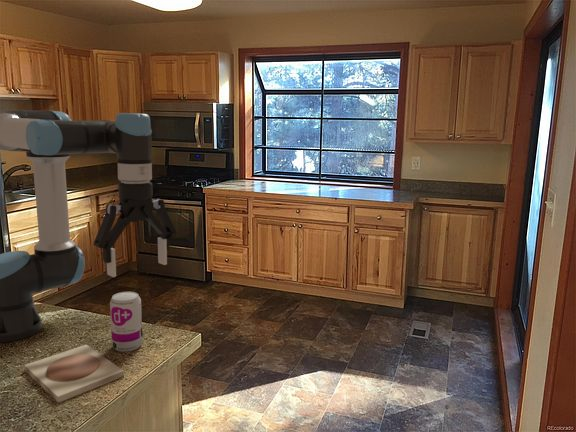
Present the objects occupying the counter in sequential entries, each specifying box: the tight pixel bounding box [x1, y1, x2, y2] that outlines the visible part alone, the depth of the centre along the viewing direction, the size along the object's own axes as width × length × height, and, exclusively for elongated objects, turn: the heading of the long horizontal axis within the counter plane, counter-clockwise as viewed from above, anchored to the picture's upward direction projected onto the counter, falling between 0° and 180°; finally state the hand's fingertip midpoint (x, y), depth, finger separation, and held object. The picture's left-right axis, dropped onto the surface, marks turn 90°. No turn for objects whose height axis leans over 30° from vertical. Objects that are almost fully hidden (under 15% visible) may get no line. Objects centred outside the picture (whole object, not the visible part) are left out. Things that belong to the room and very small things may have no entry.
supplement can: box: [109, 291, 143, 353], centre depth 134 cm, size 8×8×15 cm
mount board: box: [24, 344, 125, 404], centre depth 120 cm, size 20×16×2 cm
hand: (138, 269), depth 115 cm, fingers open, 13 cm apart
